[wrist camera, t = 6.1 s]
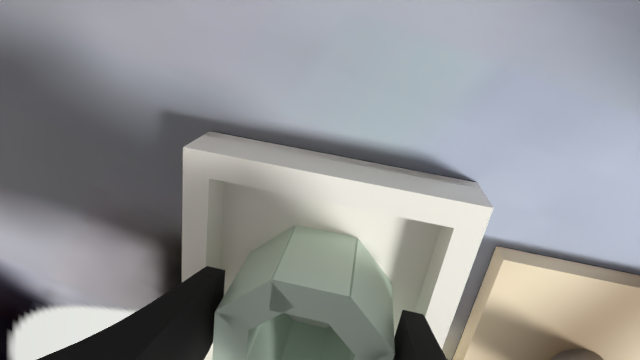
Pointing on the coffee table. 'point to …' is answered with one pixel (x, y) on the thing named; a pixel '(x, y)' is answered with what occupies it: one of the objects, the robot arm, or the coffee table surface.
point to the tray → (333, 217)
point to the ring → (307, 302)
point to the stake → (552, 311)
